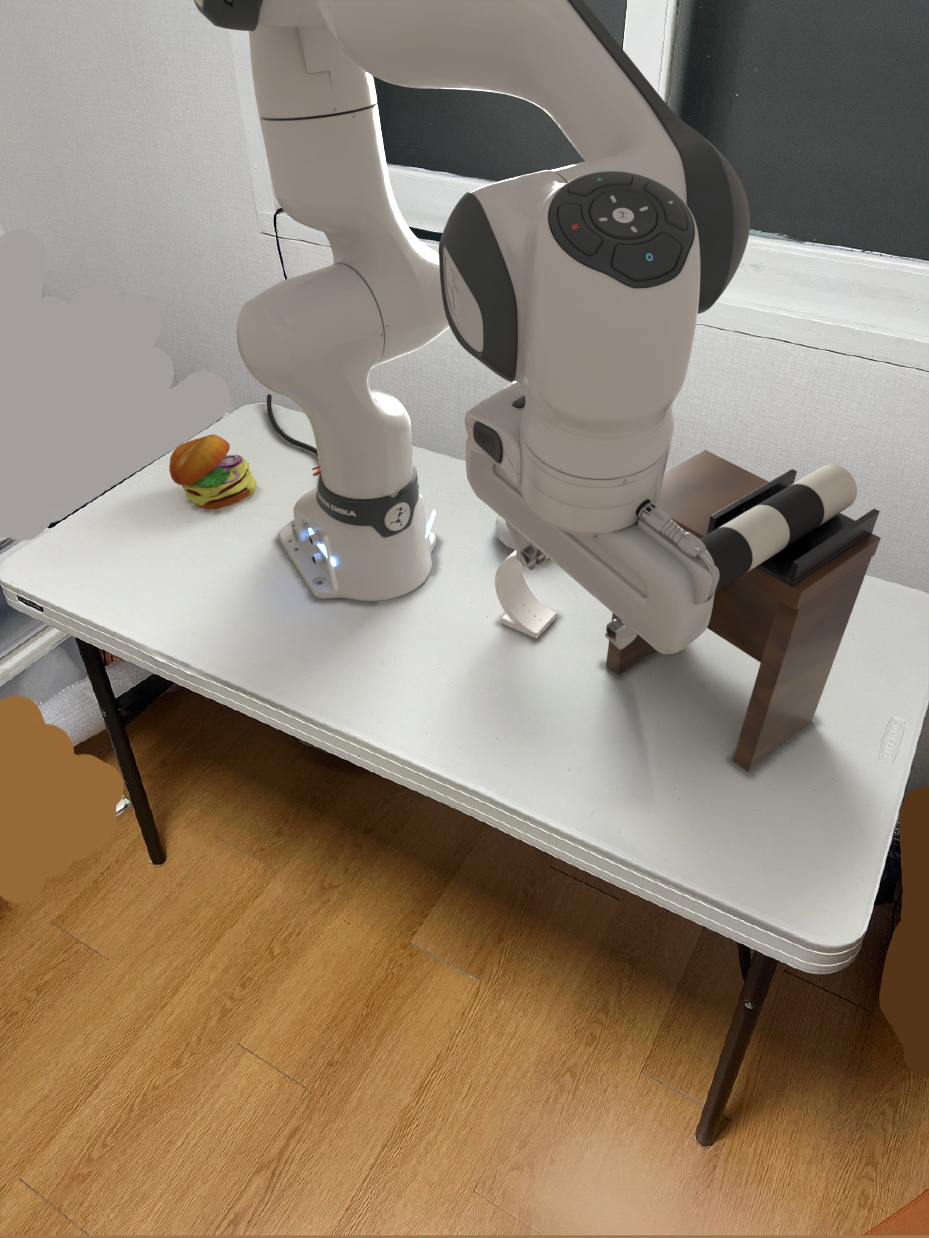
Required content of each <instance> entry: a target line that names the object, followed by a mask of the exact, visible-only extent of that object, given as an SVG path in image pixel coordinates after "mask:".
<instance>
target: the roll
mask: <svg viewBox="0 0 929 1238" xmlns="http://www.w3.org/2000/svg"><path fill="white" fill-rule="evenodd" d="M856 482H857V481H856V480H855V478H854V477H853V475H852V474H851V472H849V470H847V469H846V468H845V467H843V466H841V465H838V464H825V465H823V466H821V467H819V468H817V469H816V470H814V471H812V472H811V473H809V474H807V475H805V476H803V477H802V478H800V479H798V480H797V481H794V484H792V485H790V486H789V487H787V488H785V489H784V490H782V491H780V492H778V493H777V494H775V495H773V496H772V497H770V498H768V499H767V500H765V501H763V502H762V503H760V504H758V505H756V506H755V507H753V508H751V509H750V510H748V511H746V512H745V513H743V514H741V515H739V516H738V517H736V518H734V519H733V520H731V521H729V522H728V523H726V524H724V525H723V526H721V527H719V528H717V529H716V530H714V531H712V532H711V533H709V534H707V535H706V536H704V537H702V538H700V540H701V541H702V542H703V544H704V545H705V546H706V549H707V551H708V552H709V553H710V555H711V557H712V559H713V562H714V565H715V566H716V567H717V568H718V570H719V581H718V584H717V587H716V590H715V593H716V592H717V591H719V590H720V589H722V588H723V587H725V586H726V585H728V584H730V583H731V582H733V581H734V580H736V579H737V578H739V577H741V576H742V575H744V574H745V573H747V572H748V571H750V570H751V569H753V568H755V567H756V566H758V565H759V564H761V563H762V562H764V561H765V560H767V559H769V558H770V557H772V556H773V555H775V554H776V553H778V552H780V551H781V550H783V549H784V548H786V547H787V546H789V545H790V544H792V543H794V542H795V541H797V540H798V539H800V538H801V537H803V536H804V535H806V534H808V533H809V532H811V531H812V530H814V529H815V528H817V527H819V526H820V525H822V524H823V523H825V522H826V521H828V520H829V519H831V518H833V517H834V516H836V515H837V514H839V513H842V512H844V511H845V510H847V509H848V508H850V507H851V506H852V505H853V504H854V503H855V501H856V499H857V495H858V486H857V483H856Z"/></svg>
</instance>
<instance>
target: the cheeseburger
mask: <svg viewBox="0 0 929 1238" xmlns="http://www.w3.org/2000/svg"><path fill="white" fill-rule="evenodd" d="M230 445H231V444H230V443H229V442H228V441H227V440H226V439H225V438H223V437H221V436H219V435H217V434H215V433H213V434H208V435H205V436H202V437H199V438H195V439H192V440H189V441H188V440H187V441H186V442H183V443H182V444H180V445H178V446H177V447H176V448H175V449H174V450H173V451H172V453H171V455H170V457H169V475H170V477H171V479H172V481H173V483H175V484H177V485H179V486H182V489H184V493H185V496H186V498H187V499H188V500H189V501H190V502H192V503H193V504H194V505H195V506H197V507H199V508H201V509H204V510H220V509H223V508H227V507H230V506H232V505H235V504H238V503H240V502H241V501H243V500H245V499H246V498H250V497H252V496H253V495H254V494H255V492H256V489H257V480H256V478H255V477H253V472H252V471H251V469H250V467H251V466H250V463H249V462H248V461H247V459H246V458H244V457H243V456H242V455H239V454H229V451H230V449H231V447H230ZM228 454H229V455H228Z"/></svg>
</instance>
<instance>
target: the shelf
mask: <svg viewBox="0 0 929 1238" xmlns="http://www.w3.org/2000/svg"><path fill="white" fill-rule="evenodd" d="M769 482H770V481H769V480H766V479H765V478H763V477H760V476H759V475H757V474H755V473H753V472H751V471H748V470H746V469H744V468H742V467H741V466H738V465H737V464H734V463H733V462H730V461H728V460H727V459H725V458H723V457H721V456H719V455H717V454H716V453H713V452H711V451H709V450H707V449H704V450H701V451H699V452H698V453H696V454H694V455H692V456H690V457H688V458H686V459H684V460H682V461H680V462H679V463H677V464H675V465H672V466H671V467H669V468H667V469H665V472H664V477H663V481H662V486H661V491H660V495H659V498H658V500H657V502H656V504H655V506H656V507H658V508H659V509H660V510H662V511H663V512H664V513H666V514H667V515H668V516H669V517H671V518H672V519H673V520H674V521H675V522H676V523H677V524H678V525H679V526H680V527H681V528H682V529H684V530H685V531H687V532H690V533H692V534H693V535H695V536H696V537H697V538H699V539H700V538H702V537H704V536H706V535H707V530H708V525H709V520H710V516H711V515H713V514H715V513H717V512H718V511H720V510H722V509H723V508H725V507H727V506H729V505H730V504H732V503H734V502H736V501H737V500H739V499H741V498H743V497H744V496H746V495H748V494H750V493H751V492H753V491H755V490H756V489H758V488H760V487H762V486H763V485H765V484H767V483H769ZM881 539H882V538H881V536H878V535H876V534H874V533H873V532H872V533H871V534H870V535H868V536H867V537H865V538H864V539H863V540H861V541H860V542H858V543H857V544H855V545H854V546H852V547H851V548H849V549H848V550H846V551H845V552H843V553H842V554H840V555H839V556H837V557H836V558H835V559H833V560H832V561H830V562H829V563H827V564H826V565H824V566H823V567H821V568H820V569H818V570H817V571H815V572H814V573H812V574H811V575H809V576H808V577H807V578H805V579H804V580H802V581H801V582H799V583H798V584H796V585H795V586H793V587H791V586H789V585H787V584H786V583H784V582H782V581H780V580H779V579H777V578H775V577H773V576H772V575H770V574H768V573H766V572H765V571H763V570H761V569H759V568H758V567H755V568H753V569H751V570H750V571H748V572H747V573H745V574H744V575H742V576H741V577H739V578H737V579H736V580H734V581H733V582H731V583H730V584H728V585H726V586H725V587H723V588H722V589H720V590H719V591H717V592H716V593H715V594H714V602H713V608H712V613H711V617H710V621H709V624H708V627H707V628H706V629H708V630H709V631H711V632H712V633H714V634H715V635H717V636H718V637H720V638H722V639H723V640H725V641H726V642H728V643H729V644H731V645H732V646H734V647H736V648H737V649H738V650H740V651H741V652H743V653H745V654H746V655H748V656H749V657H751V658H753V659H754V660H756V661H757V662H758V663H760V664H759V667H758V671H757V675H756V678H755V682H754V685H753V688H752V692H751V695H750V697H749V698H750V699H749V702H748V705H747V709H746V712H745V715H744V720H743V722H742V726H741V730H740V733H739V736H738V740H737V743H736V747H735V750H734V753H733V757H732V761H733V763H735V764H737V765H738V766H739V767H741V768H742V769H743V770H745V771H746V772H747V773H750V771H752V770H753V769H755V767H757V766H758V765H759V764H760V763H762V762H763V761H764V760H765V759H766V758H768V757H770V755H772V754H773V753H774V752H775V751H776V750H778V749H779V748H781V746H783V745H784V744H785V743H786V742H787V741H789V740H790V739H791V738H792V737H794V736H795V735H796V734H797V733H799V732H800V731H801V730H802V729H804V728H805V727H806V726H807V725H808V724H810V723H811V722H813V720H814V717H815V714H816V711H817V710H818V706H819V703H820V700H821V698H822V695H823V692H824V691H825V690H824V689H825V686H826V684H827V681H828V679H829V676H830V673H831V670H832V668H833V665H834V663H835V660H836V657H837V653H838V651H839V648H840V645H841V643H842V639H843V637H844V634H845V633H846V629H847V626H848V623H849V620H850V618H851V615H852V613H853V609H854V607H855V605H856V603H857V599H858V597H859V593H860V590H861V588H862V585H863V582H864V579H865V577H866V574H867V572H868V569H869V566H870V563H871V560H872V558H873V557H874V556H875V555H876V552H877V550H878V547H879V544H880V543H881ZM616 619H618V617H617V616H616V615H615V614H614V613H613V612H612V614H611V621H613V620H616ZM607 645H608V646H607V653H606V662H605V667H606V668H607V669H608V670H610V671H611V672H613V673H614V674H615V675H617V676H620V675H621V674H622V673H624V672H626V671H628V670H629V669H631V668H633V666H635V665H636V664H638V663H640V662H641V661H642V660H644V659H646V658H648V657H649V656H651V655H652V654H653V653H655V652H657V650H656V649H655V648H653V647H652V646H651V645H650V644H649V643H648V642H646V641H645V640H644V639H643V638H642V637H641V636H639V635H638V634H637V636H636V638H635V639H634V640H633V641H632V642H631V643H630V644H628V645H627V646H626V647H624V648H623V649H621V650H620V649H619V648H617V647H616V646H615V645H614V644H613V643H612V642H611V641H610V640H609V639H608V644H607Z"/></svg>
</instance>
